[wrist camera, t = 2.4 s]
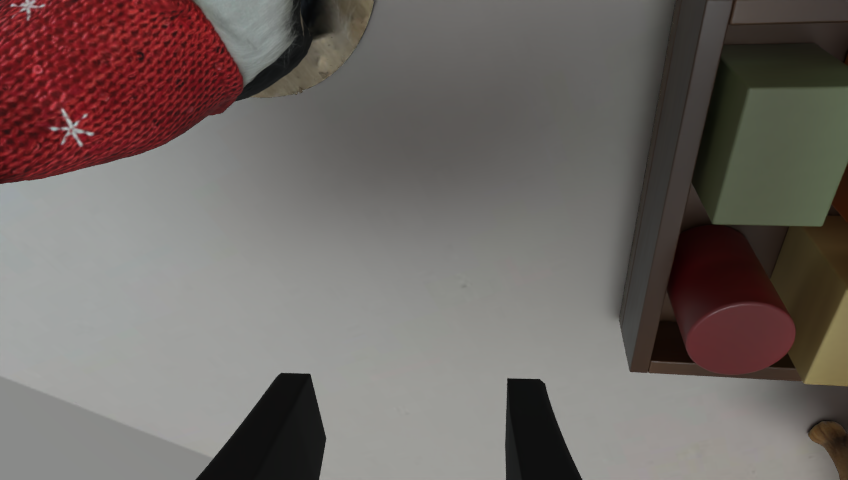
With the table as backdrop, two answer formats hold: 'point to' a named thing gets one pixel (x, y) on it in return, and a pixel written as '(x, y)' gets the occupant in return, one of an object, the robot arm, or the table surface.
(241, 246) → the table surface
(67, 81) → the figurine
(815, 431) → the lion figurine
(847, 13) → the tray of colored blocks
